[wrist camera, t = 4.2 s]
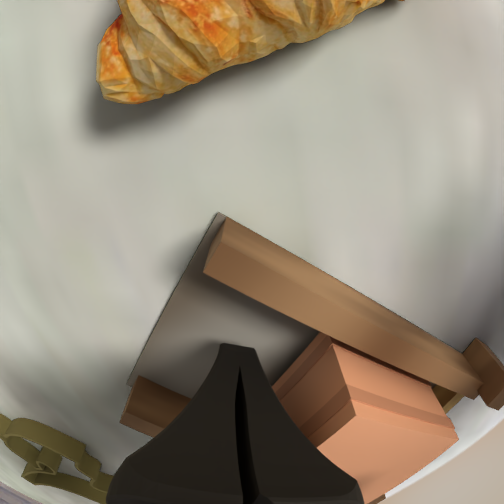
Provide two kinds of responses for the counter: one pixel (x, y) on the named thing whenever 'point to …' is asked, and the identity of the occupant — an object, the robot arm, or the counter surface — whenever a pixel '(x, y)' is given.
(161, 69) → the croissant
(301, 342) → the brown wooden frame
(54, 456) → the cookie cutter
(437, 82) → the counter surface
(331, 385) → the peach rectangular block
